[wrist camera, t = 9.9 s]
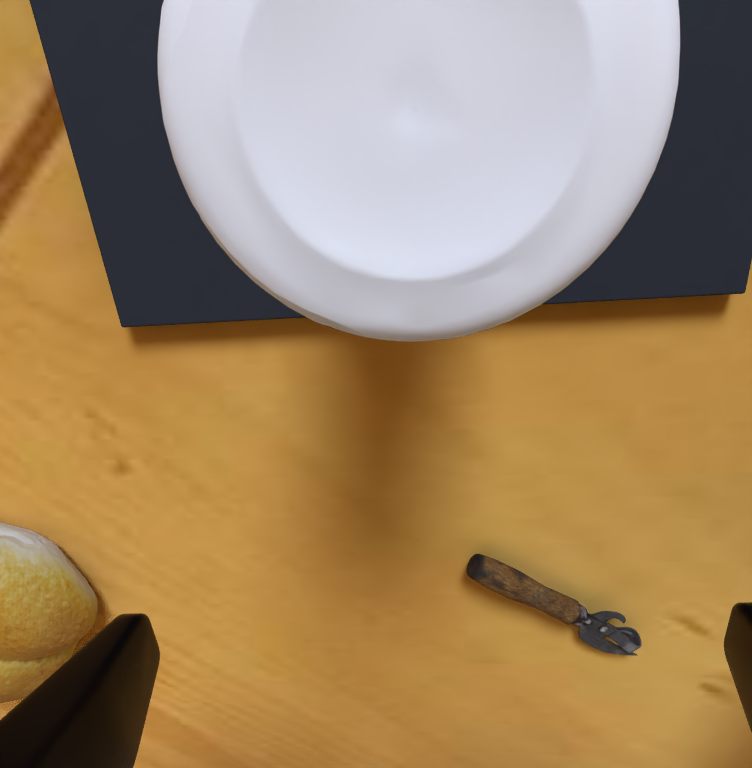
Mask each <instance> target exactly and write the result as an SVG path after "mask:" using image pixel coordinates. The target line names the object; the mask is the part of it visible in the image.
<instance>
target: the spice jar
mask: <svg viewBox="0 0 752 768" xmlns="http://www.w3.org/2000/svg"><path fill="white" fill-rule="evenodd" d="M157 56H158V82H159V93H160V101H161V108H162V115H163V122H164V126H165V130H166V134H167V137H168V141H169V145H170V148H171V152H172V156H173V159H174V162H175V165H176V167H177V170H178V173H179V175H180V178H181V180H182V183H183V185H184V187H185V189H186V192H187V194H188V196H189V198H190V200H191V202H192V204H193V206H194V207H195V209H196V210H197V212H198V214H199V215H200V218H201V220H202V221H203V223H204V224H205V226H206V227H207V229H208V230H209V231H210V233H211V234H212V236H213V237H214V239H215V240H216V242H217V243H218V244H219V245H220V247H221V248H222V249H223V250H224V251H225V252H226V254H227V255H228V256H229V257H230V258H231V259H232V261H233V262H234V263H235V264H236V265H237V266H238V267H239V268H240V269H241V270H242V271H243V272H244V273H245V274H246V275H247V276H248V277H249V278H251V279H252V280H253V281H254V282H255V283H256V284H257V285H258V286H260V287H261V288H262V289H264V290H265V291H266V292H268V293H269V294H270V295H272V296H273V297H275V298H276V299H277V300H279V301H280V302H282V303H283V304H284V305H286V306H287V307H289V308H291V309H292V310H294V311H296V312H298V313H300V314H302V315H304V316H305V317H307V318H309V319H311V320H312V321H315V322H317V323H320V324H322V325H326V326H330V327H332V328H334V329H337V330H340V331H344V332H347V333H350V334H354V335H357V336H363V337H368V338H373V339H381V340H391V341H405V342H417V341H433V340H443V339H451V338H456V337H462V336H467V335H472V334H474V333H476V332H480V331H484V330H488V329H491V328H493V327H496V326H498V325H500V324H503V323H506V322H509V321H511V320H513V319H515V318H517V317H519V316H520V315H522V314H524V313H526V312H528V311H530V310H532V309H533V308H535V307H537V306H539V305H541V304H543V303H544V302H545V301H547V300H548V299H550V298H551V297H553V296H554V295H556V294H557V293H559V292H560V291H562V290H563V289H564V288H566V287H567V286H568V285H569V284H570V283H572V282H573V281H574V280H575V279H576V278H577V277H578V276H579V275H581V274H582V273H583V272H584V271H585V270H586V269H587V268H589V267H590V266H591V265H592V264H593V262H594V261H595V260H596V259H597V258H598V257H599V256H600V255H601V254H602V253H603V252H604V251H605V250H606V248H607V247H608V246H609V245H610V244H611V242H612V241H613V240H614V239H615V237H616V236H617V235H618V234H619V232H620V231H621V230H622V228H623V226H624V225H625V223H626V222H627V221H628V219H629V218H630V216H631V214H632V213H633V211H634V209H635V208H636V206H637V204H638V203H639V201H640V199H641V197H642V195H643V193H644V191H645V189H646V187H647V185H648V183H649V181H650V179H651V177H652V175H653V173H654V171H655V169H656V166H657V163H658V161H659V158H660V155H661V153H662V150H663V147H664V145H665V142H666V139H667V135H668V131H669V128H670V124H671V120H672V116H673V110H674V105H675V99H676V93H677V87H678V80H679V58H680V16H679V4H678V0H164V2H163V5H162V10H161V19H160V29H159V40H158V55H157Z"/></svg>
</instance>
